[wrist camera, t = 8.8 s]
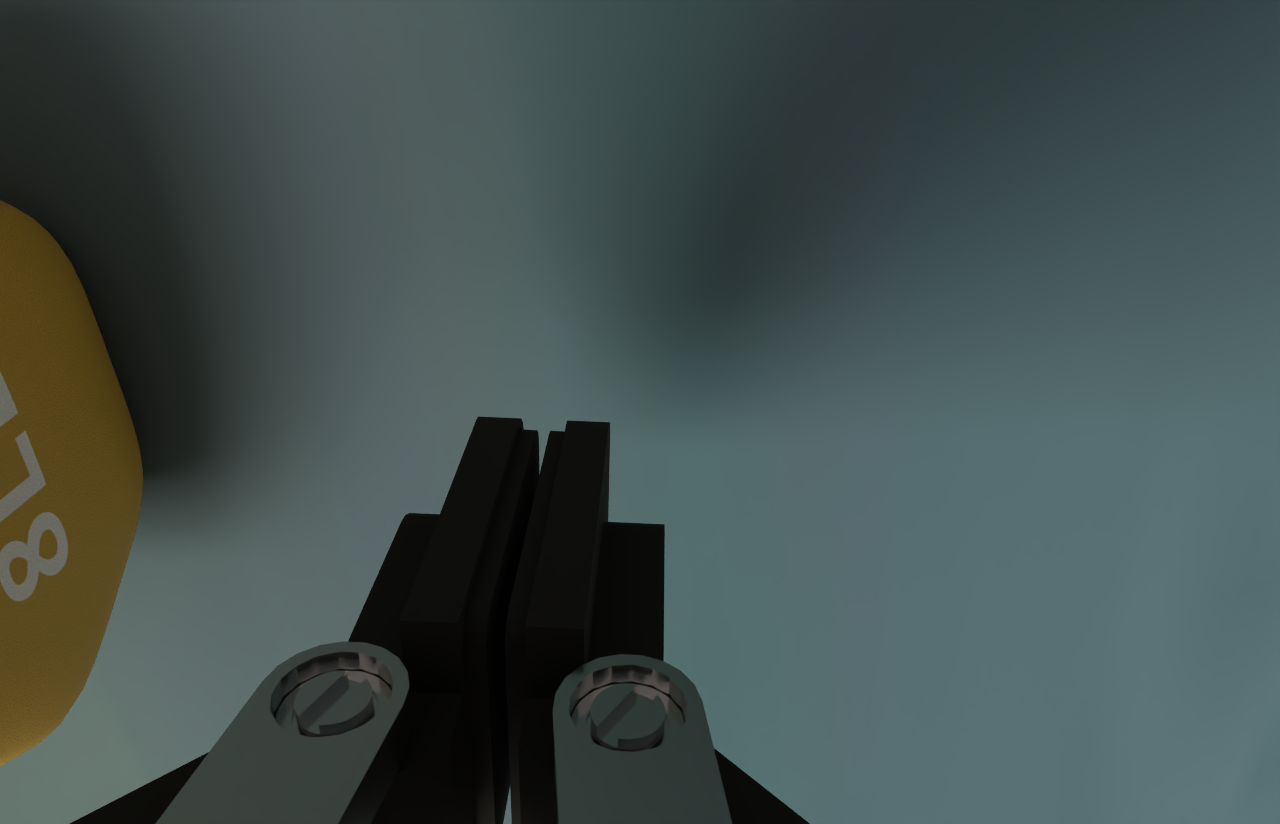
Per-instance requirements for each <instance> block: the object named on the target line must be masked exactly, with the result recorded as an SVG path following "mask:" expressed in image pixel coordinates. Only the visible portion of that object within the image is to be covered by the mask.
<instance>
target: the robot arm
mask: <svg viewBox="0 0 1280 824" xmlns="http://www.w3.org/2000/svg"><path fill="white" fill-rule="evenodd" d="M609 458H610V422H587V421H567V424H566V428H565V432H563V431H550V433H549V437H548V441H547V446H546V450H545V454H544V458H543V463H542V467H541V471H540V475H539V436H538V431H537V430H524V428H523V421H522V419H519V418H496V417H478V418H477V420H476V422H475V425H474V427H473V430H472V433H471V435H470V438H469V440H468V443H467V446H466V448H465V451H464V453H463V456H462V458H461V461H460V464H459V466H458V469H457V471H456V474H455V477H454V479H453V482H452V484H451V487H450V490H449V492H448V495H447V497H446V500H445V503H444V505H443V508H442V510H441V513H440V514H418V513H409V514H407V515H405V517H404V518H403V520H402V522H401V524H400V526H399V528H398V531H397V533H396V535H395V537H394V539H393V542H392V544H391V546H390V548H389V551H388V553H387V555H386V557H385V560H384V562H383V564H382V566H381V569H380V571H379V573H378V575H377V578H376V580H375V582H374V584H373V587H372V589H371V591H370V593H369V596H368V598H367V600H366V602H365V605H364V607H363V609H362V611H361V614H360V616H359V618H358V620H357V623H356V625H355V627H354V629H353V632H352V634H351V636H350V638H349V641H348V642H337V643H331V644H325V645H319V646H317V647H314V648H311V649H308V650H306V651H303V652H300V653H298V654H296V655H294V656H293V657H291V658H289V659H288V660H286V661H285V662H283V663H281V664H280V665H278V666H277V667H276V668H275V669H274V670H273V671H272V672H271V673H270V674H269V675H268V676H267V677H266V678H265V679H264V680H263V681H262V683H261V684H260V685H259V687H258V688H257V689H256V691H255V692H254V693H253V695H252V696H251V697H250V699H249V700H248V701H247V703H246V704H245V705H244V707H243V708H242V709H241V711H240V712H239V713H238V715H237V716H236V717H235V719H234V720H233V721H232V722H231V724H230V725H229V726H228V728H227V729H226V730H225V732H224V733H223V734H222V736H221V737H220V738H219V740H218V741H217V742H216V744H215V745H214V746H213V748H212V749H211V750H210V752H208V753H206V754H204V755H202V756H201V757H199V758H197V759H195V760H193V761H191V762H189V763H187V764H185V765H183V766H181V767H179V768H177V769H175V770H173V771H171V772H169V773H167V774H165V775H163V776H162V777H160V778H158V779H156V780H154V781H152V782H150V783H148V784H146V785H144V786H142V787H140V788H138V789H136V790H134V791H132V792H130V793H128V794H126V795H125V796H123V797H121V798H119V799H117V800H115V801H113V802H111V803H109V804H107V805H105V806H103V807H101V808H99V809H97V810H95V811H93V812H91V813H89V814H88V815H86V816H84V817H82V818H80V819H78V820H76V821H74V822H72V823H70V824H503V821H504V815H505V810H506V804H507V799H508V793H509V788H511V813H512V824H809V823H808V822H807V821H806V820H804V819H803V818H802V817H801V816H799V815H798V814H797V813H795V812H794V811H793V810H792V809H790V808H789V807H788V806H787V805H785V804H784V803H783V802H782V801H780V800H779V799H778V798H776V797H775V796H774V795H773V794H771V793H770V792H769V791H768V790H766V789H765V788H764V787H762V786H761V785H760V784H759V783H757V782H756V781H755V780H754V779H752V778H751V777H750V776H749V775H747V774H746V773H745V772H743V771H742V770H741V769H740V768H738V767H737V766H736V765H735V764H733V763H732V762H731V761H730V760H728V759H727V758H726V757H724V756H723V755H722V754H721V753H719V752H718V751H717V750H716V749H714V747H713V743H712V739H711V735H710V731H709V727H708V722H707V718H706V714H705V710H704V706H703V702H702V699H701V697H700V695H699V693H698V691H697V689H696V686H695V685H694V684H693V683H692V682H691V681H690V680H689V678H688V677H687V676H686V675H685V674H684V673H683V672H682V671H680V670H678V669H677V668H675V667H673V666H671V665H669V664H668V663H666V662H664V661H663V653H664V535H665V532H664V524H641V523H619V522H608V501H609Z"/></svg>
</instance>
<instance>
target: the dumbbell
mask: <svg viewBox="0 0 1280 824" xmlns="http://www.w3.org/2000/svg"><path fill="white" fill-rule="evenodd" d="M142 490H143V469H142V461H141V453H140V448H139V444H138V440H137V436H136V432H135V429H134V425H133V422H132V419H131V416H130V413H129V410H128V407H127V404H126V401H125V398H124V395H123V393H122V390H121V387H120V384H119V382H118V379H117V376H116V374H115V371H114V368H113V365H112V363H111V360H110V357H109V355H108V352H107V349H106V346H105V343H104V341H103V338H102V335H101V332H100V330H99V327H98V324H97V321H96V319H95V316H94V314H93V311H92V308H91V306H90V303H89V301H88V298H87V296H86V293H85V290H84V288H83V286H82V284H81V282H80V280H79V278H78V276H77V274H76V272H75V270H74V267H73V265H72V263H71V262H70V260H69V259H68V257H67V256H66V255H65V253H64V252H63V250H62V249H61V247H60V246H59V244H58V243H57V242H56V240H55V239H54V238H53V237H52V235H51V234H50V233H49V232H48V231H47V230H46V229H45V228H43V227H42V226H41V225H40V224H39V223H38V222H37V221H36V220H35V219H34V218H32V217H30V216H29V215H27V214H25V213H24V212H22V211H20V210H18V209H17V208H15V207H13V206H12V205H9V204H7V203H5V202H3V201H0V766H1V765H3V764H5V763H7V762H8V761H10V760H12V759H14V758H16V757H17V756H19V755H21V754H22V753H24V752H26V751H27V750H29V749H30V748H32V747H34V746H35V745H37V744H38V743H40V742H42V741H43V740H44V739H45V738H46V737H47V736H48V735H49V734H50V733H51V732H52V731H53V730H54V729H55V728H57V727H58V726H59V725H60V724H61V722H62V721H63V719H64V718H65V716H66V714H67V713H68V711H69V710H70V708H71V707H72V705H73V704H74V702H75V701H76V699H77V698H78V696H79V695H80V693H81V692H82V690H83V688H84V686H85V683H86V681H87V679H88V677H89V674H90V672H91V670H92V667H93V665H94V663H95V660H96V657H97V654H98V651H99V648H100V645H101V642H102V639H103V636H104V633H105V630H106V627H107V624H108V621H109V618H110V615H111V612H112V609H113V605H114V602H115V599H116V595H117V592H118V589H119V585H120V582H121V579H122V576H123V572H124V569H125V566H126V563H127V560H128V556H129V553H130V550H131V546H132V542H133V538H134V535H135V531H136V527H137V524H138V517H139V512H140V507H141V501H142Z"/></svg>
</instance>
